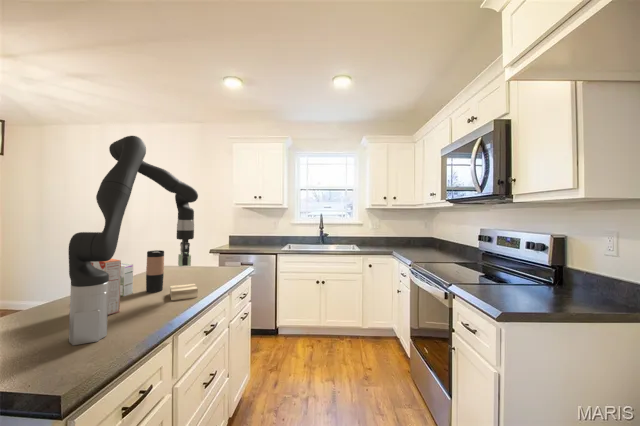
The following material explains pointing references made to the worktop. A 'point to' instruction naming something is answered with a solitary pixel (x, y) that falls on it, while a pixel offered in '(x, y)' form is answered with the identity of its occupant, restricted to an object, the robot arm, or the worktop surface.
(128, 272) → the syrup box
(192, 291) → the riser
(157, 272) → the travel mug
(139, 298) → the worktop surface
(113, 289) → the cracker box
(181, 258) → the cube
